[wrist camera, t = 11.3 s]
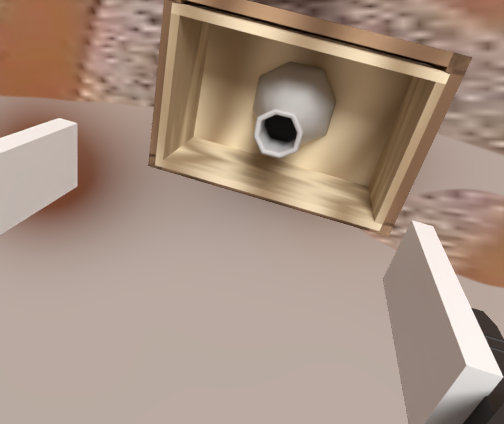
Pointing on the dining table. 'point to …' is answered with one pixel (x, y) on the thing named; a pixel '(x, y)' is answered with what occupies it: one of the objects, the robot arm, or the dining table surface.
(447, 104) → the wooden drawer box
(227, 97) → the pine crate
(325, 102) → the flask
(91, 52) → the dining table surface
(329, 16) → the dining table surface
